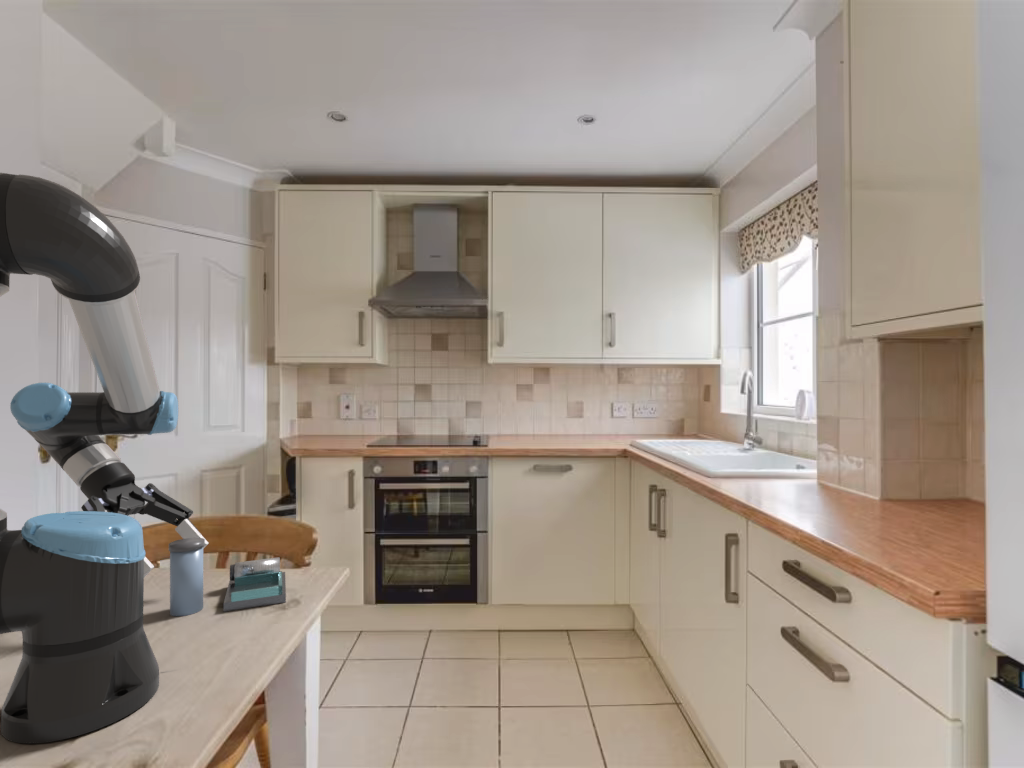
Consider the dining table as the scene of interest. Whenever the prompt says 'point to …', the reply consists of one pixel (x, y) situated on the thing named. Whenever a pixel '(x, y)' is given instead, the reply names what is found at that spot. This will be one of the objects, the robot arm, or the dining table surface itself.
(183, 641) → the dining table surface
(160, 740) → the dining table surface
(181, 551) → the ball
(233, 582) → the motor mount
